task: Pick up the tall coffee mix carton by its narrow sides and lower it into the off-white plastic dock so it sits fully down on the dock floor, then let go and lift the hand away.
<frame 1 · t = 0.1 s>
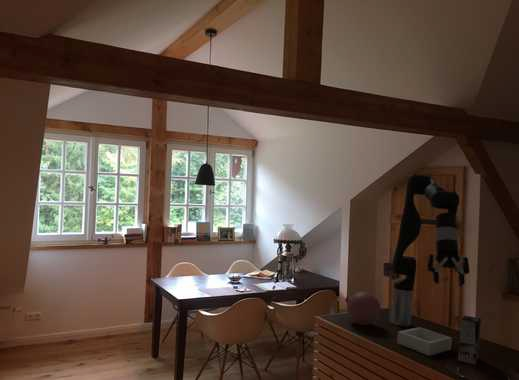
hand: (449, 284, 161), 31 cm above the kitchen island, tool tilted 20°, fingers open, 8 cm apart
coffee box: (468, 360, 175), on the kitchen island
carton dock: (423, 346, 186), on the kitchen island
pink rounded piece: (359, 323, 212), on the kitchen island
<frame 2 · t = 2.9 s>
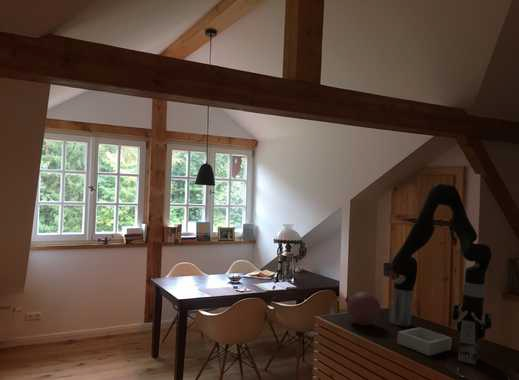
hand: (470, 335, 174), 10 cm above the kitchen island, tool pointing down, fingers open, 8 cm apart
nothing on the kitchen island moved.
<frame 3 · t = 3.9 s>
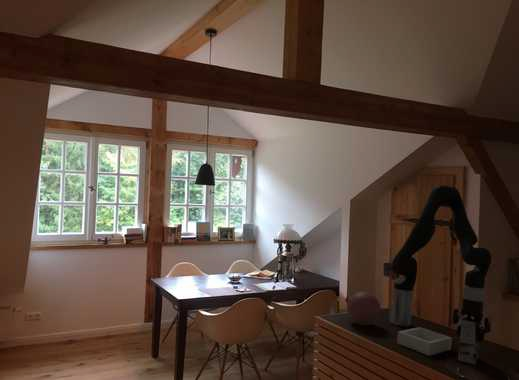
hand: (469, 339, 175), 8 cm above the kitchen island, tool pointing down, fingers closed on coffee box, 8 cm apart
coffee box: (468, 360, 175), on the kitchen island, touching gripper
everything else where it was.
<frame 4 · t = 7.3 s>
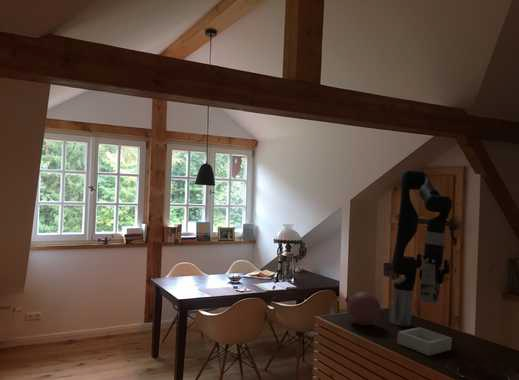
hand: (430, 281, 186), 28 cm above the kitchen island, tool pointing down, fingers closed on coffee box, 8 cm apart
coffee box: (429, 301, 186), point 19 cm above the kitchen island, touching gripper
everything else where it was.
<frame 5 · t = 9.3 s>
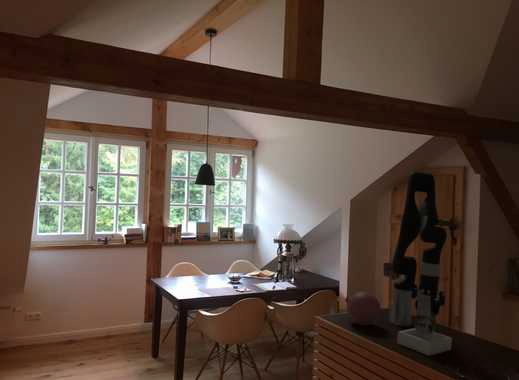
hand: (426, 312, 186), 14 cm above the kitchen island, tool pointing down, fingers closed on coffee box, 8 cm apart
coffee box: (424, 331, 186), point 6 cm above the kitchen island, touching gripper
everything else where it was.
when the fingers open (10 cm above the kitchen island, at t = 10.9 s): coffee box stays where it is, resting on carton dock.
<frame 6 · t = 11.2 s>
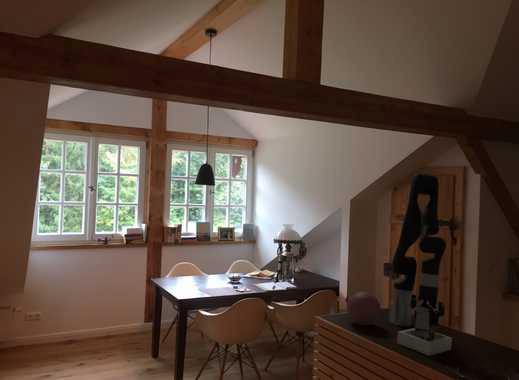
hand: (425, 322, 186), 10 cm above the kitchen island, tool pointing down, fingers open, 8 cm apart
coffee box: (423, 344, 186), point 1 cm above the kitchen island, touching carton dock
everything else where it was.
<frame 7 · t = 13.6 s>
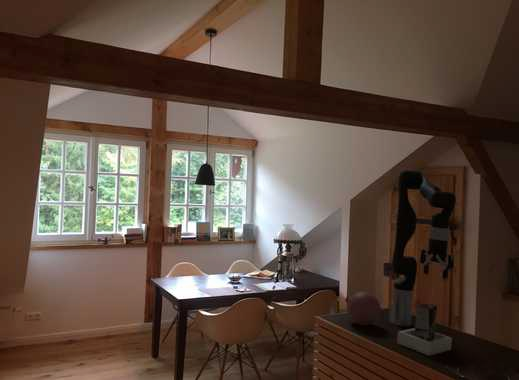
hand: (435, 276, 188), 29 cm above the kitchen island, tool pointing down, fingers open, 8 cm apart
nothing on the kitchen island moved.
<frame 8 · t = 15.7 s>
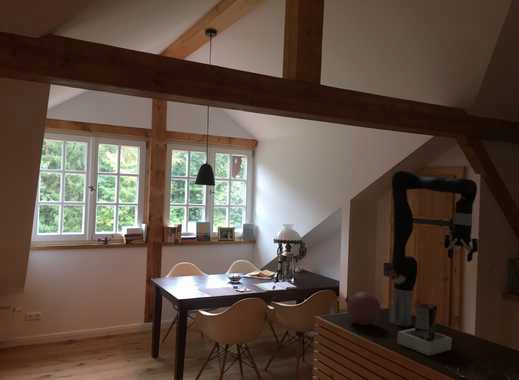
hand: (459, 259, 197), 36 cm above the kitchen island, tool pointing down, fingers open, 8 cm apart
nothing on the kitchen island moved.
at the end: coffee box 0.1 cm off-centre on the carton dock, point 0.8 cm above the carton dock's base; coffee box tilted 0°; the gripper is holding nothing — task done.
